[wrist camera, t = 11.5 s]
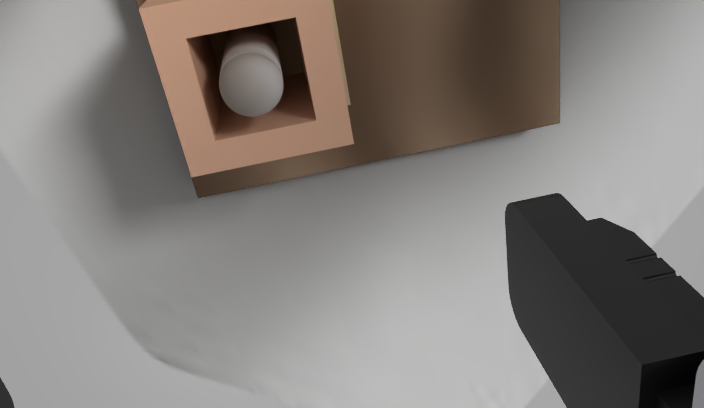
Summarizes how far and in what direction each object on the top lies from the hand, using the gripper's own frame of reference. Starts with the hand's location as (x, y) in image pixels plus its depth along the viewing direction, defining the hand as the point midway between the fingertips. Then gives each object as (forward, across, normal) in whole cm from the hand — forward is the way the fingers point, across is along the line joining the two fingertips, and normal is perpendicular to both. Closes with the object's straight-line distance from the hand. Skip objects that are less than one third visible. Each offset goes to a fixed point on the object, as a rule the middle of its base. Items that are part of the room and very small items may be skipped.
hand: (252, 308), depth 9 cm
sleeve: (+18, 0, 0) cm, 18 cm away
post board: (+20, -4, 0) cm, 20 cm away
